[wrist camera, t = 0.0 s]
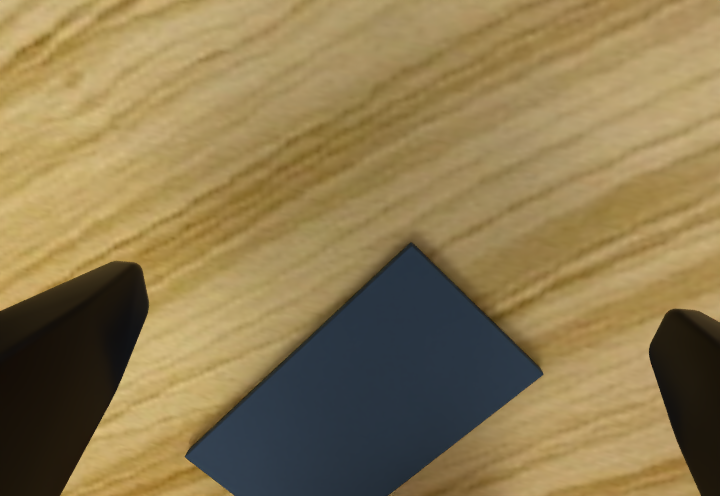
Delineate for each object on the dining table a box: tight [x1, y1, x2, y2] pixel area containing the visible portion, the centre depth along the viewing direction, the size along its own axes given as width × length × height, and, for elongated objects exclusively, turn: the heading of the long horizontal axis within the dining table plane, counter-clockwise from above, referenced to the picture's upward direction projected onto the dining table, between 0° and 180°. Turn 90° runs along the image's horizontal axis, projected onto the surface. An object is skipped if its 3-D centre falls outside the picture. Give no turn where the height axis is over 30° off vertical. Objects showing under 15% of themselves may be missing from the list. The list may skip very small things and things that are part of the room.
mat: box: [185, 243, 543, 496], centre depth 27 cm, size 18×10×1 cm, turn 136°
